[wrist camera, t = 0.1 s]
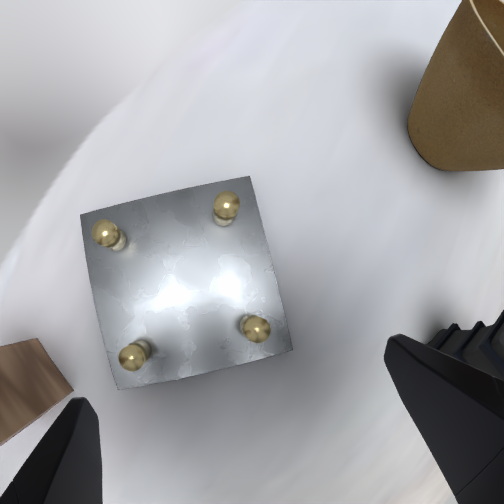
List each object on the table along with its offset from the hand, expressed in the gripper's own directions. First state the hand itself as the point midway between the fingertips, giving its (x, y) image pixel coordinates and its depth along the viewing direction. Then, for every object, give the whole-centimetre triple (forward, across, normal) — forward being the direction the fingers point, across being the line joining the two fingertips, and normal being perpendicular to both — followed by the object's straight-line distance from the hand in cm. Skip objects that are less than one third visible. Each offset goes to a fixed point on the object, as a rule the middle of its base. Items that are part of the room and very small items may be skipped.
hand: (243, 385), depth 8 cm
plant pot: (+20, -24, -4) cm, 32 cm away
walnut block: (+11, +16, +10) cm, 22 cm away
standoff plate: (+14, +2, +5) cm, 15 cm away
